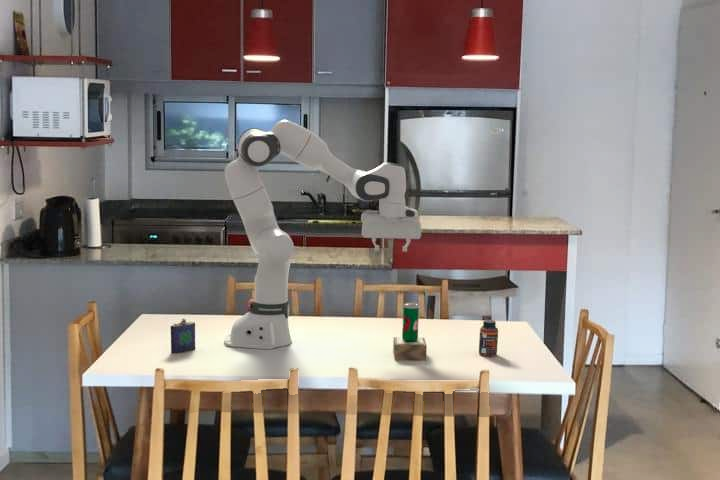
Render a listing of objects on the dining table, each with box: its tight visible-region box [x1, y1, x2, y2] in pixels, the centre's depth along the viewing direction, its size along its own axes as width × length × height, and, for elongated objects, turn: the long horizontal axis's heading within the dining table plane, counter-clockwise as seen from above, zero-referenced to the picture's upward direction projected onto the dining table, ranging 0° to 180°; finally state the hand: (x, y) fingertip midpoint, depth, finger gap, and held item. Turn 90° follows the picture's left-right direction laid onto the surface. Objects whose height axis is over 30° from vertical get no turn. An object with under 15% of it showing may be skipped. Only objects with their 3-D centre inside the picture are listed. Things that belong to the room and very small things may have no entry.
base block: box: [392, 336, 428, 362], centre depth 300 cm, size 10×10×5 cm
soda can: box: [401, 302, 420, 342], centre depth 299 cm, size 5×5×12 cm
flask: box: [170, 318, 196, 355], centre depth 299 cm, size 9×3×11 cm, turn 138°
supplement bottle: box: [478, 319, 499, 357], centre depth 304 cm, size 6×6×11 cm
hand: (390, 251), depth 315 cm, fingers open, 8 cm apart
